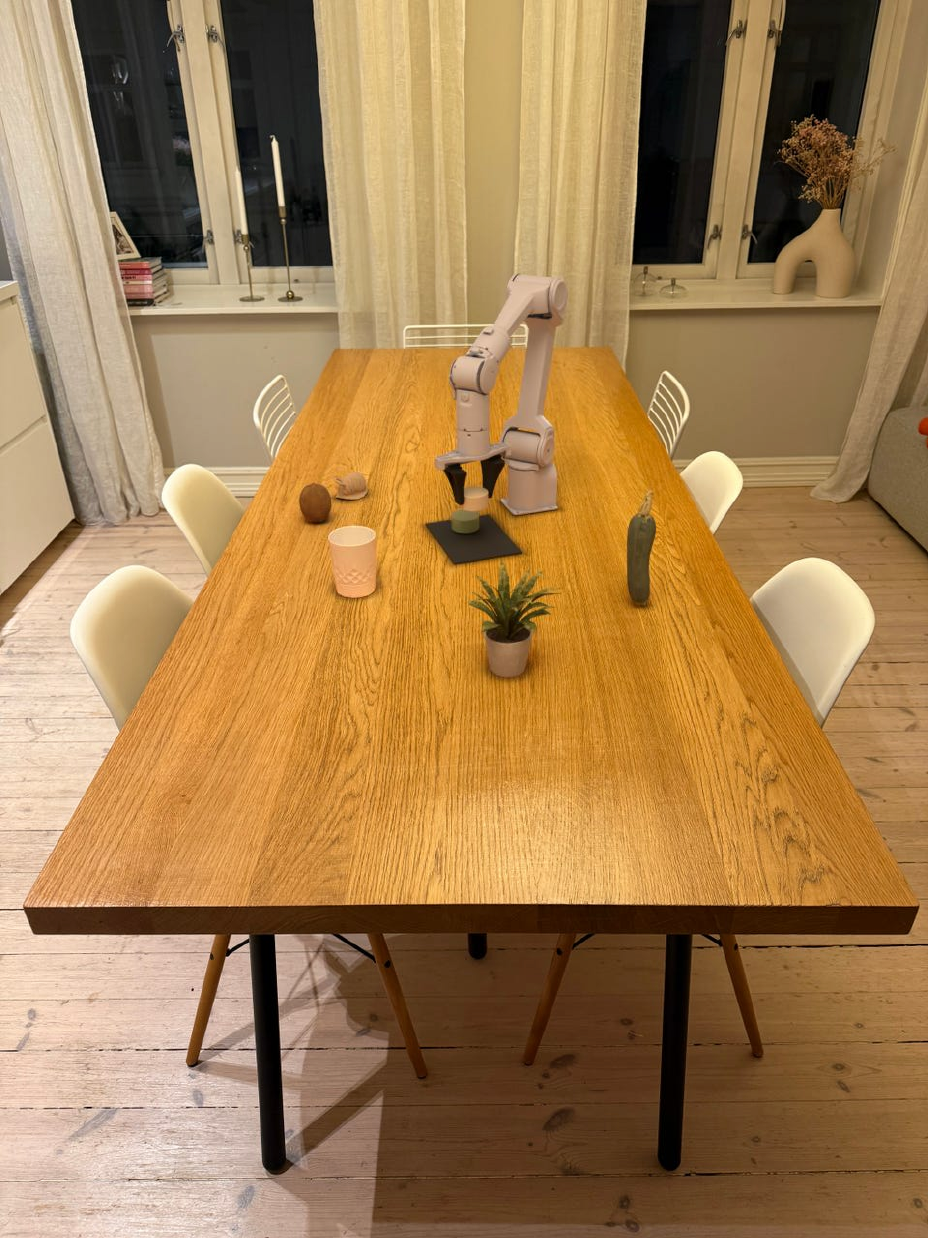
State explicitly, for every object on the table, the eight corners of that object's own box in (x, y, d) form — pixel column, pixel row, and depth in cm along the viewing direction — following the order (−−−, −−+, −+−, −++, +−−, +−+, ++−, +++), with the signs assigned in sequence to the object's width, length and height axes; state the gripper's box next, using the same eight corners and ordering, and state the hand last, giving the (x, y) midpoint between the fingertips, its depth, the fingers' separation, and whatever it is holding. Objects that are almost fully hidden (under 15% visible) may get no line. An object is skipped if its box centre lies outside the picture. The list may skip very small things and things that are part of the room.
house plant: (524, 711, 132) (527, 607, 123) (440, 682, 138) (437, 582, 130) (571, 663, 142) (576, 564, 134) (490, 638, 148) (491, 543, 140)
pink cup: (386, 581, 165) (383, 528, 160) (367, 603, 159) (364, 548, 154) (345, 575, 168) (340, 523, 163) (324, 596, 161) (319, 542, 156)
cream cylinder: (478, 498, 177) (478, 484, 175) (494, 508, 173) (494, 493, 171) (453, 504, 174) (453, 490, 173) (468, 515, 170) (467, 500, 169)
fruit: (339, 520, 188) (336, 482, 184) (314, 530, 184) (311, 492, 180) (319, 512, 192) (315, 474, 188) (294, 522, 188) (290, 483, 184)
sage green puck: (474, 521, 186) (474, 507, 184) (483, 532, 181) (483, 518, 180) (447, 525, 184) (447, 511, 183) (456, 536, 180) (456, 522, 178)
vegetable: (632, 613, 155) (641, 498, 145) (616, 602, 158) (624, 489, 148) (654, 607, 156) (665, 492, 146) (638, 596, 160) (648, 483, 150)
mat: (488, 515, 189) (488, 514, 189) (522, 553, 174) (522, 551, 174) (425, 525, 185) (425, 523, 185) (454, 564, 171) (454, 562, 170)
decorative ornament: (373, 494, 199) (371, 470, 196) (339, 505, 195) (337, 480, 192) (362, 489, 202) (360, 465, 199) (328, 499, 197) (326, 474, 195)
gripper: (496, 413, 172) (496, 484, 179) (425, 427, 166) (427, 500, 173) (517, 424, 167) (516, 496, 174) (444, 439, 161) (446, 513, 168)
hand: (473, 499), depth 173 cm, fingers closed on cream cylinder, 5 cm apart
